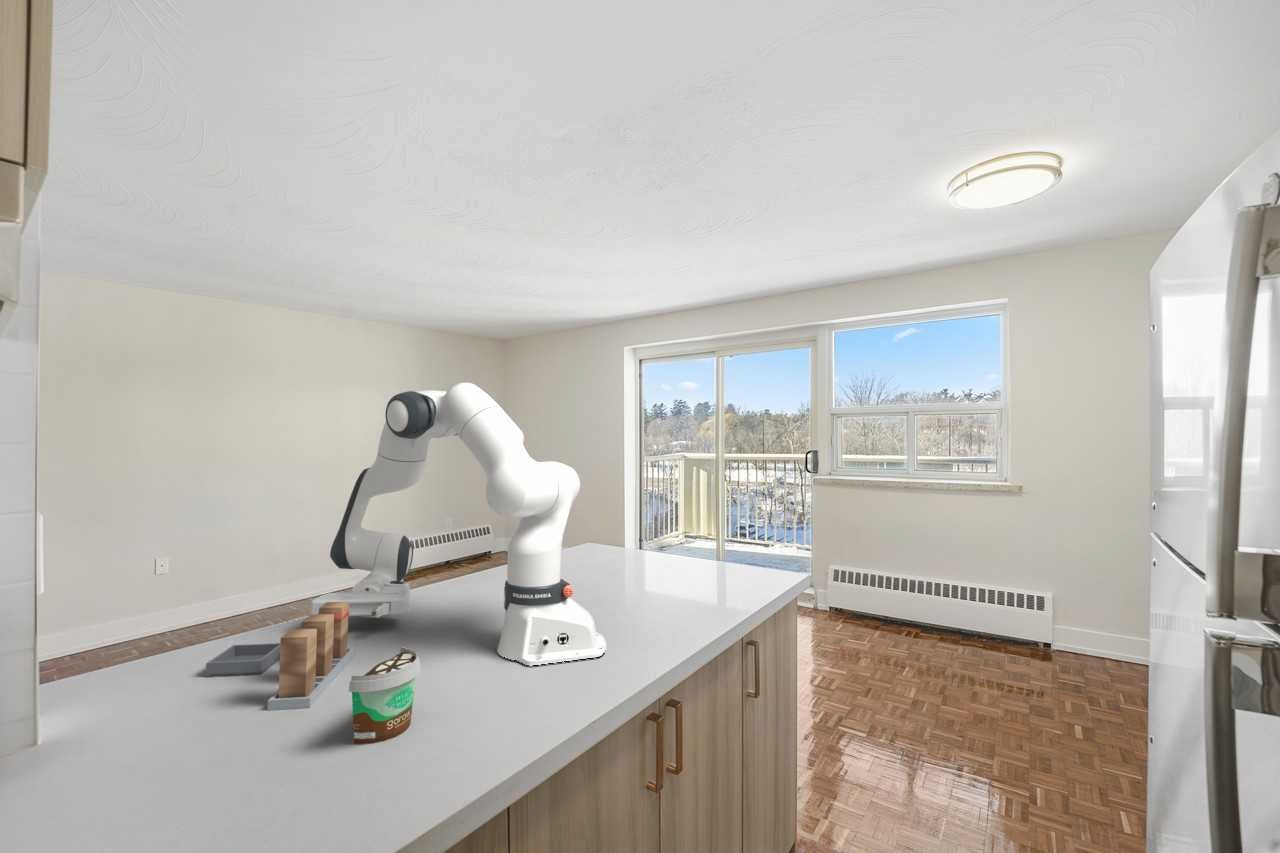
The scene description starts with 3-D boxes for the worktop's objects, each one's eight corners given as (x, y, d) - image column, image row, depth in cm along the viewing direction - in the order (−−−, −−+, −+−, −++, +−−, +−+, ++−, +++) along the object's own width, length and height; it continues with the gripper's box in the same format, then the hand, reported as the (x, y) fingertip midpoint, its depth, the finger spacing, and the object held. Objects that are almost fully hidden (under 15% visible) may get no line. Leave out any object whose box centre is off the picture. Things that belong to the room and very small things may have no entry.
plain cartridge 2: (332, 674, 103) (334, 614, 103) (323, 683, 99) (325, 621, 99) (308, 675, 102) (310, 614, 103) (299, 685, 98) (301, 621, 99)
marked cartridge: (347, 657, 111) (349, 601, 111) (340, 665, 107) (342, 607, 107) (324, 658, 110) (326, 602, 111) (316, 667, 106) (318, 608, 106)
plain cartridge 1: (314, 694, 95) (317, 628, 95) (305, 705, 91) (307, 636, 91) (289, 695, 94) (291, 629, 95) (278, 706, 90) (280, 637, 91)
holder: (354, 655, 112) (354, 647, 112) (309, 707, 90) (310, 698, 90) (321, 656, 111) (321, 648, 111) (267, 710, 89) (267, 700, 89)
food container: (385, 754, 77) (387, 681, 78) (346, 749, 79) (348, 677, 79) (435, 712, 90) (437, 649, 90) (400, 708, 91) (402, 645, 91)
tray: (283, 655, 111) (283, 642, 111) (261, 674, 102) (261, 660, 102) (232, 657, 110) (233, 644, 110) (205, 677, 101) (206, 663, 101)
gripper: (323, 584, 131) (298, 601, 117) (416, 582, 134) (401, 598, 120) (322, 611, 130) (297, 632, 117) (415, 608, 134) (401, 628, 120)
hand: (351, 614), depth 119 cm, fingers open, 8 cm apart
